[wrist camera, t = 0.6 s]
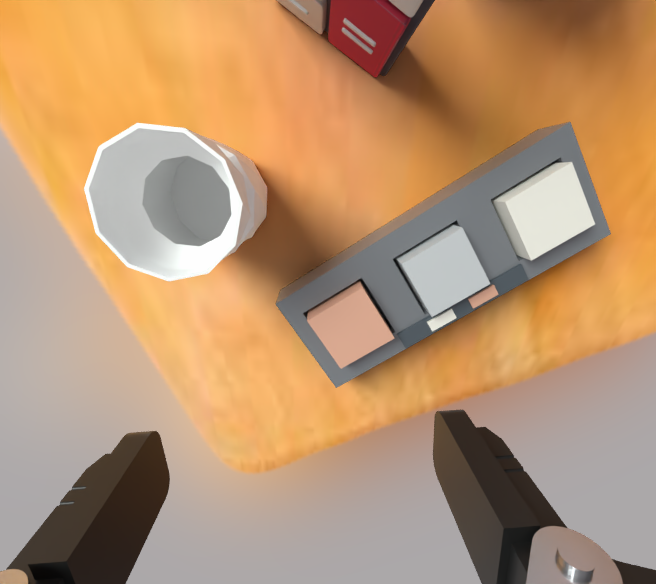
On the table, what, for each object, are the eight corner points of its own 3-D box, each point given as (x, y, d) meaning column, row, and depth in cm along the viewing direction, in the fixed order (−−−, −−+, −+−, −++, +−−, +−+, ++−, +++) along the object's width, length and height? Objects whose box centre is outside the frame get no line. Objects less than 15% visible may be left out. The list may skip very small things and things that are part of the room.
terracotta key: (358, 277, 31) (362, 287, 28) (387, 324, 32) (394, 338, 29) (307, 308, 32) (307, 321, 29) (338, 352, 33) (340, 368, 30)
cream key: (546, 163, 28) (572, 161, 26) (568, 220, 30) (595, 224, 27) (486, 199, 29) (505, 202, 26) (511, 253, 31) (531, 260, 28)
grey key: (448, 223, 30) (462, 227, 27) (474, 274, 31) (490, 283, 28) (393, 256, 30) (401, 264, 28) (421, 304, 32) (431, 317, 29)
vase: (166, 233, 32) (81, 263, 20) (176, 132, 29) (85, 101, 18) (260, 255, 33) (230, 295, 21) (278, 159, 30) (255, 145, 19)
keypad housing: (537, 129, 30) (574, 120, 26) (576, 227, 33) (615, 234, 28) (280, 290, 34) (274, 306, 29) (334, 366, 36) (336, 390, 32)
